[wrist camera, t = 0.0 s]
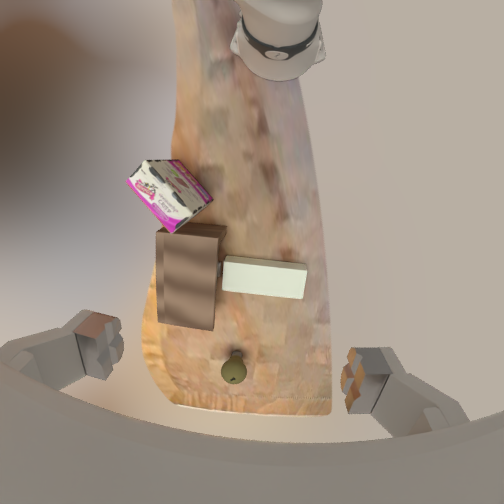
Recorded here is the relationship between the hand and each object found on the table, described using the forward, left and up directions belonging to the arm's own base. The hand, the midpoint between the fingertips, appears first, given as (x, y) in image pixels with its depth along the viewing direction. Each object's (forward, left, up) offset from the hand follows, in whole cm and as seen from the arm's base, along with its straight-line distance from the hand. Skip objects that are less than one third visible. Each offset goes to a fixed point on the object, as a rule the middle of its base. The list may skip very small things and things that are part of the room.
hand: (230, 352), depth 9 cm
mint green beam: (+15, +2, -48) cm, 50 cm away
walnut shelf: (+15, -12, -48) cm, 52 cm away
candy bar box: (-1, -15, -48) cm, 50 cm away
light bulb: (+36, -2, -48) cm, 60 cm away
